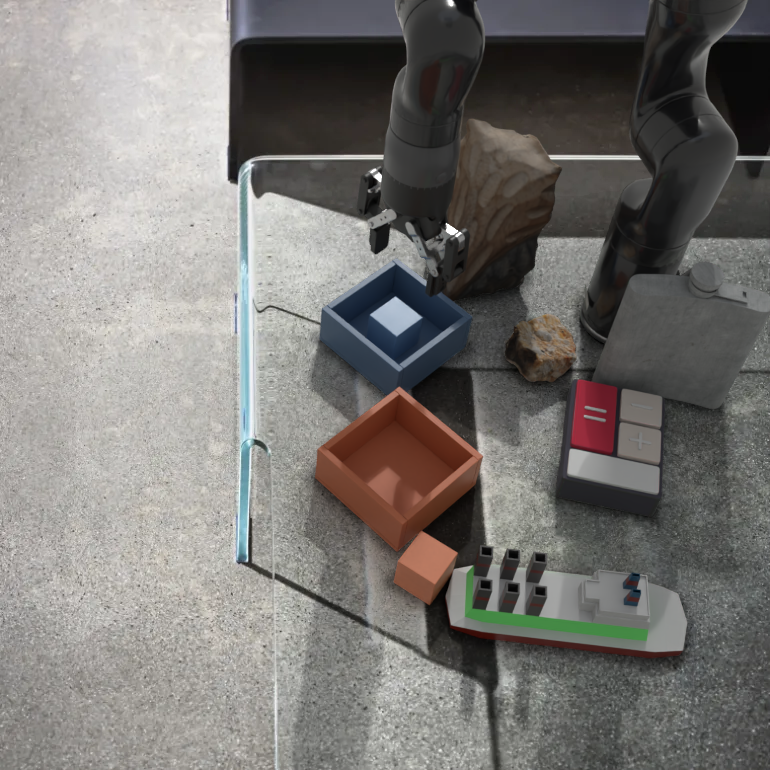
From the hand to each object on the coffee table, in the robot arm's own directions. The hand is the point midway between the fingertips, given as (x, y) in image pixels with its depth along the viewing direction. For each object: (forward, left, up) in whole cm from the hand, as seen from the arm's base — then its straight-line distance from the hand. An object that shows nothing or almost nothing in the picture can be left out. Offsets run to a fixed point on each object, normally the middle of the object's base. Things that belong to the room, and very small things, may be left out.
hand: (405, 270), depth 129 cm
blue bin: (0, 0, -13) cm, 13 cm away
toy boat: (+12, +37, -13) cm, 41 cm away
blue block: (0, 0, -13) cm, 13 cm away
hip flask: (-19, +26, -13) cm, 35 cm away
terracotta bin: (+14, +14, -13) cm, 23 cm away
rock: (-12, +13, -13) cm, 22 cm away
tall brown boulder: (-16, -2, -13) cm, 21 cm away
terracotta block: (+20, +24, -13) cm, 34 cm away
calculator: (-7, +27, -13) cm, 31 cm away
